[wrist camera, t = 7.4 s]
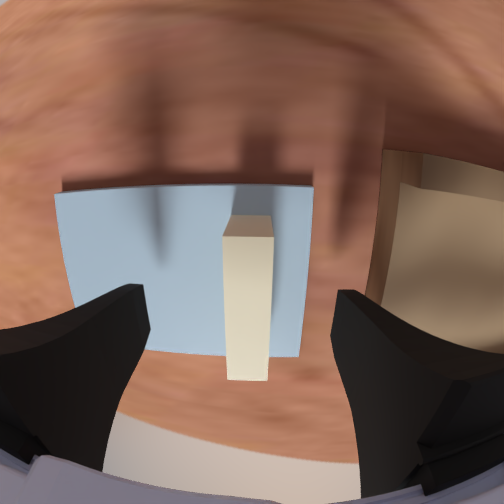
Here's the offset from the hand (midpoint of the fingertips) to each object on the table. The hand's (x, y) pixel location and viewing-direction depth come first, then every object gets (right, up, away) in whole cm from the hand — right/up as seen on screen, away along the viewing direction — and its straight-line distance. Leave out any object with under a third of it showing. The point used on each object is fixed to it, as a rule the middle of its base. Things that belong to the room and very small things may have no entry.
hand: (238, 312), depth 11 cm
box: (+13, +1, +3) cm, 13 cm away
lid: (-3, +1, +4) cm, 5 cm away
